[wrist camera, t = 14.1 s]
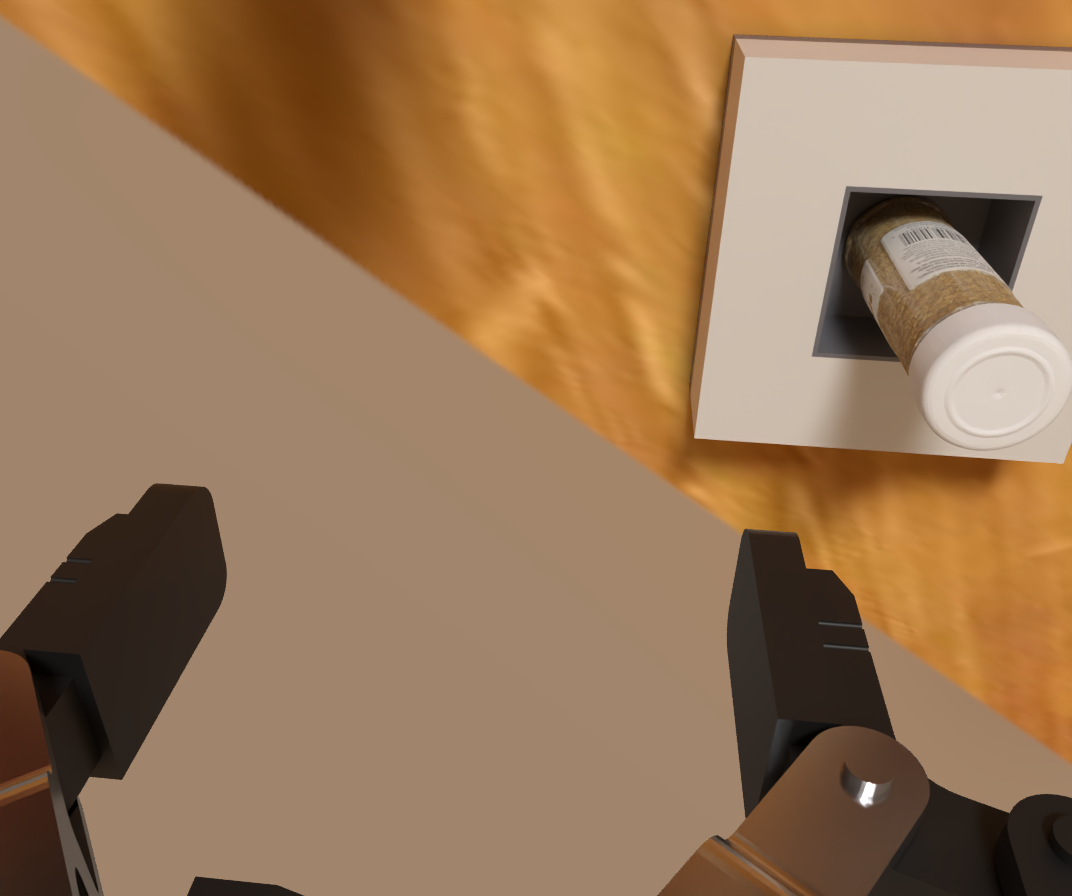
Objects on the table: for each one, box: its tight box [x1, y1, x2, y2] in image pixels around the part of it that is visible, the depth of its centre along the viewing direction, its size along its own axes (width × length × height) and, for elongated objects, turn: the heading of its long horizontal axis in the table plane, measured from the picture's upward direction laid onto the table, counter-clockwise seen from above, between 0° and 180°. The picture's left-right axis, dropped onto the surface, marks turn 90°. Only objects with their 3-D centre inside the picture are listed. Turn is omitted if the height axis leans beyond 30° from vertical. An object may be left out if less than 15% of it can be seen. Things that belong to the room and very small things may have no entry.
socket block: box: [689, 35, 1072, 464], centre depth 39 cm, size 16×16×5 cm
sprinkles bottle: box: [844, 196, 1072, 451], centre depth 34 cm, size 5×5×14 cm
